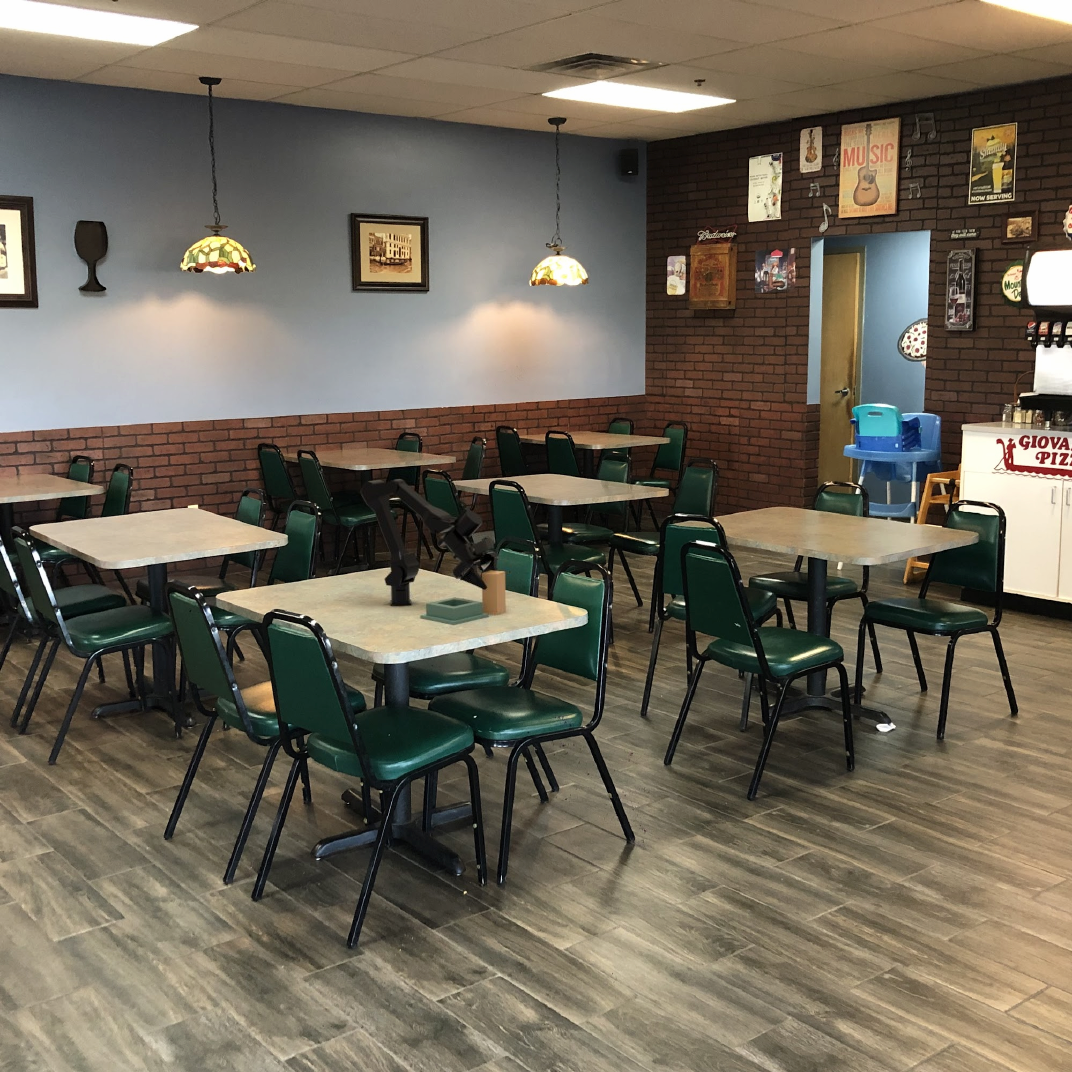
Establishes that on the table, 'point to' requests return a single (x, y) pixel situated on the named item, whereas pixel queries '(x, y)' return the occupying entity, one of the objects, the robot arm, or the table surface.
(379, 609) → the table surface
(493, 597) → the plug
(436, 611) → the socket housing
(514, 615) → the table surface
